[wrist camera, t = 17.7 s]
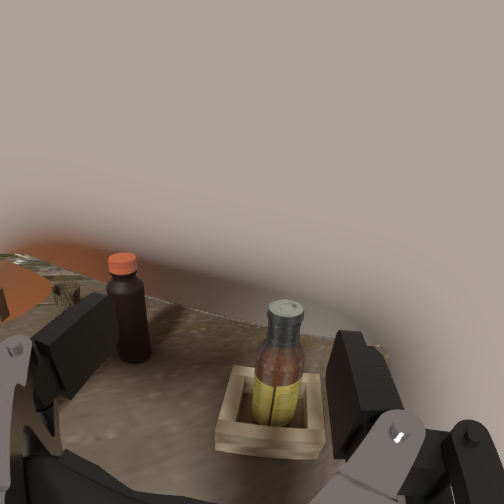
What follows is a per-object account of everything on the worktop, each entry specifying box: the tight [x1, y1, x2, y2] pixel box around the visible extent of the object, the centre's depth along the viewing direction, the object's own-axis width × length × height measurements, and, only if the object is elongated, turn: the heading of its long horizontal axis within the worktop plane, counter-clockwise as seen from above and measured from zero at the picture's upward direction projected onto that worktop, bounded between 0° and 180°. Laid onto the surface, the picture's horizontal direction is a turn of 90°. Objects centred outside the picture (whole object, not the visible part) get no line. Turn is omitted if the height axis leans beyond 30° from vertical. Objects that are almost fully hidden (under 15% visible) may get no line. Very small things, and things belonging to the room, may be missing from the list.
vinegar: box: [106, 253, 151, 363], centre depth 46 cm, size 7×7×20 cm
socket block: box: [215, 365, 325, 460], centre depth 36 cm, size 14×14×5 cm
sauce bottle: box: [252, 299, 305, 428], centre depth 34 cm, size 7×6×20 cm
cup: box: [52, 281, 80, 312], centre depth 55 cm, size 8×7×8 cm
